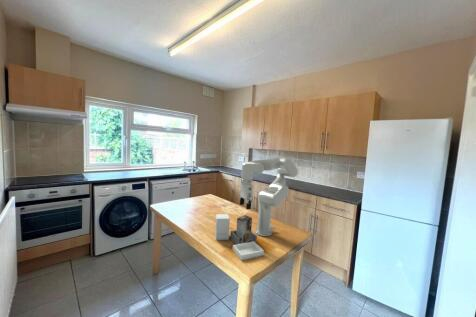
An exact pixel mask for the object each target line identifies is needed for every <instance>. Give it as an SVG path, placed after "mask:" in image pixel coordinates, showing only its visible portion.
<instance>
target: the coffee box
mask: <svg viewBox="0 0 476 317" xmlns="http://www.w3.org/2000/svg"><path fill="white" fill-rule="evenodd" d="M252 224H253V217H252V216H249V215H246V214H245V215H242V216H240V217H237V219H236V230H237V231H236V236H237V237H238V238H239V244H242V243H247V242H251V241H252V240H251V231H252V227H253V226H252Z"/></svg>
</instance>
